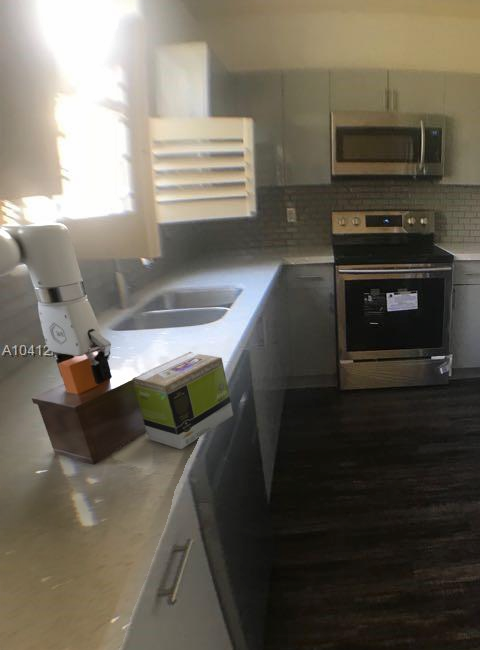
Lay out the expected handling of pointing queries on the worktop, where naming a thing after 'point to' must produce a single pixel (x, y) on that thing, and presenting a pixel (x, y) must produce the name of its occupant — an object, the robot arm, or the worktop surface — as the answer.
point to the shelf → (92, 418)
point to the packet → (78, 374)
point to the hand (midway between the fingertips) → (86, 377)
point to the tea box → (183, 398)
